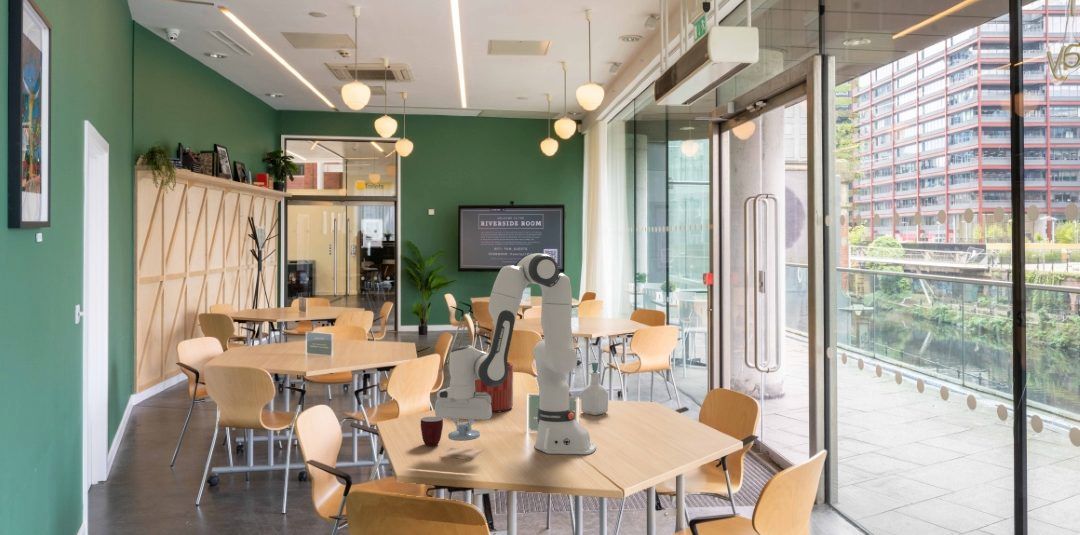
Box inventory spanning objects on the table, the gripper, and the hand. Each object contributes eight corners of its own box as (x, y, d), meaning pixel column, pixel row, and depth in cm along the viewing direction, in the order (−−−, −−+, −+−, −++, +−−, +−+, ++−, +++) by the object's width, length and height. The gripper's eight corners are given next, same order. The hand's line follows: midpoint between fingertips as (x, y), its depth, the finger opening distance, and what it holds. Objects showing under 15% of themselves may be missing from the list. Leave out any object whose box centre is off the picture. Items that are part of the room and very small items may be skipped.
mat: (482, 451, 257) (482, 450, 257) (471, 461, 245) (471, 459, 245) (451, 449, 259) (451, 447, 259) (438, 458, 248) (438, 456, 248)
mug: (442, 450, 258) (443, 422, 258) (420, 451, 257) (420, 423, 256) (442, 443, 268) (442, 416, 268) (420, 443, 267) (420, 416, 267)
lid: (484, 432, 256) (483, 420, 256) (473, 441, 246) (473, 428, 246) (455, 431, 259) (454, 419, 259) (443, 440, 248) (443, 427, 248)
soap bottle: (594, 410, 328) (594, 360, 327) (609, 413, 320) (610, 362, 320) (579, 413, 321) (579, 362, 321) (595, 416, 314) (595, 364, 314)
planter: (492, 416, 314) (493, 369, 313) (452, 409, 326) (452, 365, 326) (522, 406, 333) (523, 363, 333) (483, 400, 346) (483, 359, 345)
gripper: (493, 390, 252) (495, 429, 253) (439, 389, 257) (440, 427, 258) (488, 394, 246) (489, 434, 247) (432, 393, 251) (433, 432, 252)
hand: (464, 430), depth 252 cm, fingers closed on lid, 2 cm apart
